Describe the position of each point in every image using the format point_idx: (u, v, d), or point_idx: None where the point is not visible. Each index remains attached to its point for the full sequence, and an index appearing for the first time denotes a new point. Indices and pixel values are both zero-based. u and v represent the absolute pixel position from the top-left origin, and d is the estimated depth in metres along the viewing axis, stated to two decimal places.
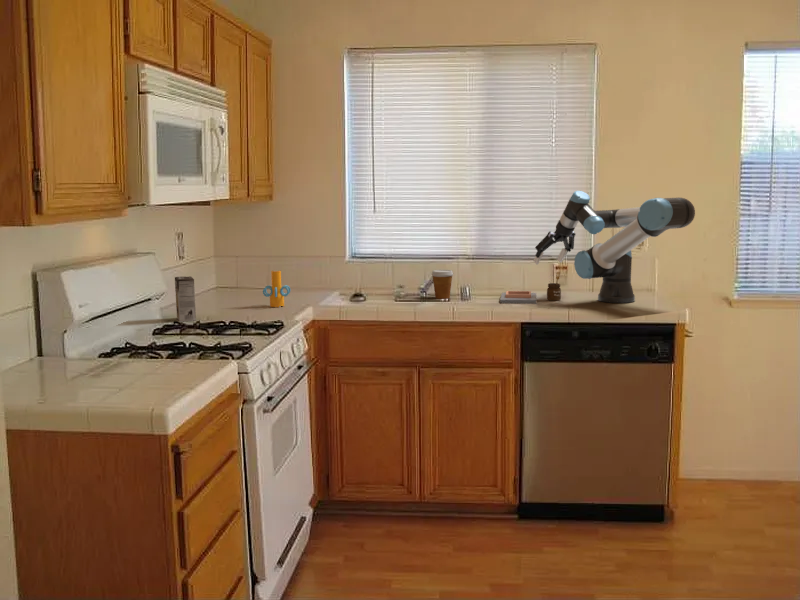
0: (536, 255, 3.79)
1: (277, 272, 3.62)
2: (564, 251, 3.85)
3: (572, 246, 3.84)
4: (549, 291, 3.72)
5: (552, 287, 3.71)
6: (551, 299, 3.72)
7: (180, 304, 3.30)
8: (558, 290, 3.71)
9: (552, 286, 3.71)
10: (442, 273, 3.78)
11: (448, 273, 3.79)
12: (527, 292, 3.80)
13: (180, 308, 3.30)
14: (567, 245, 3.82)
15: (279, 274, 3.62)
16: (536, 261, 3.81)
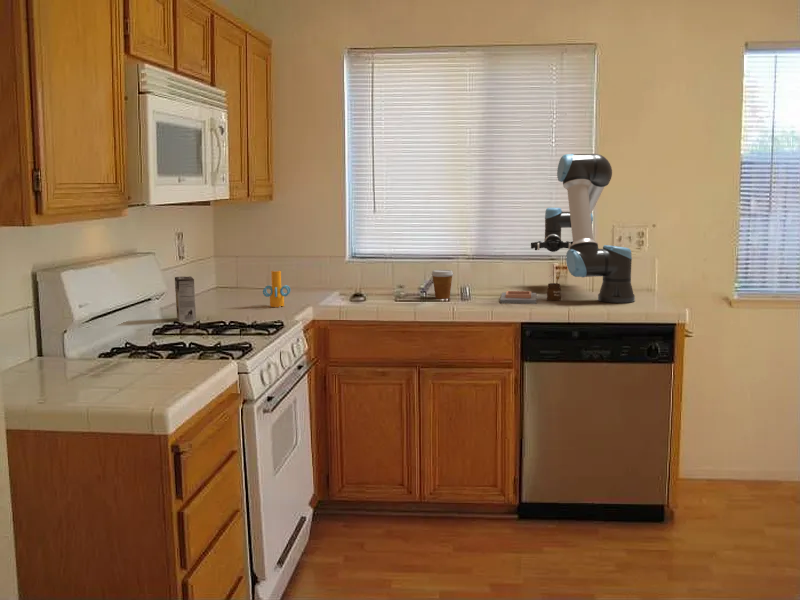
0: (535, 246, 3.86)
1: (277, 272, 3.62)
2: None
3: None
4: (549, 291, 3.72)
5: (552, 287, 3.71)
6: (551, 299, 3.72)
7: (180, 304, 3.30)
8: (558, 290, 3.71)
9: (552, 286, 3.71)
10: (442, 273, 3.78)
11: (448, 273, 3.79)
12: (527, 292, 3.80)
13: (180, 308, 3.30)
14: (566, 242, 3.89)
15: (279, 274, 3.62)
16: (537, 245, 3.83)
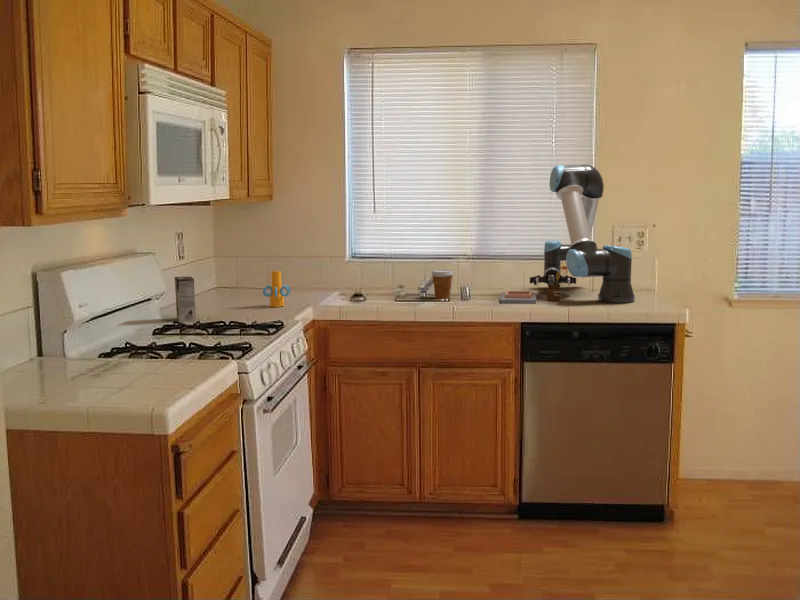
0: (533, 281, 3.83)
1: (277, 272, 3.62)
2: None
3: (573, 277, 3.85)
4: (549, 291, 3.72)
5: (552, 287, 3.71)
6: (551, 299, 3.72)
7: (180, 304, 3.30)
8: (558, 290, 3.71)
9: (552, 286, 3.71)
10: (442, 273, 3.78)
11: (448, 273, 3.79)
12: (527, 292, 3.80)
13: (180, 308, 3.30)
14: (565, 277, 3.87)
15: (279, 274, 3.62)
16: (536, 281, 3.80)
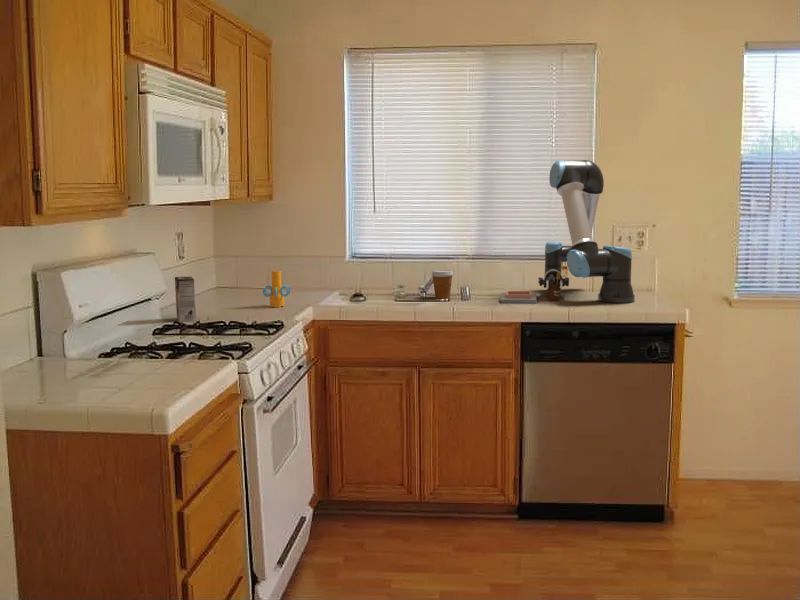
0: (543, 284, 3.73)
1: (277, 272, 3.62)
2: None
3: (567, 280, 3.76)
4: (549, 291, 3.72)
5: (552, 287, 3.71)
6: (551, 299, 3.72)
7: (180, 304, 3.30)
8: (558, 290, 3.71)
9: (552, 286, 3.71)
10: (442, 273, 3.78)
11: (448, 273, 3.79)
12: (527, 292, 3.80)
13: (180, 308, 3.30)
14: (560, 279, 3.78)
15: (279, 274, 3.62)
16: (546, 283, 3.69)
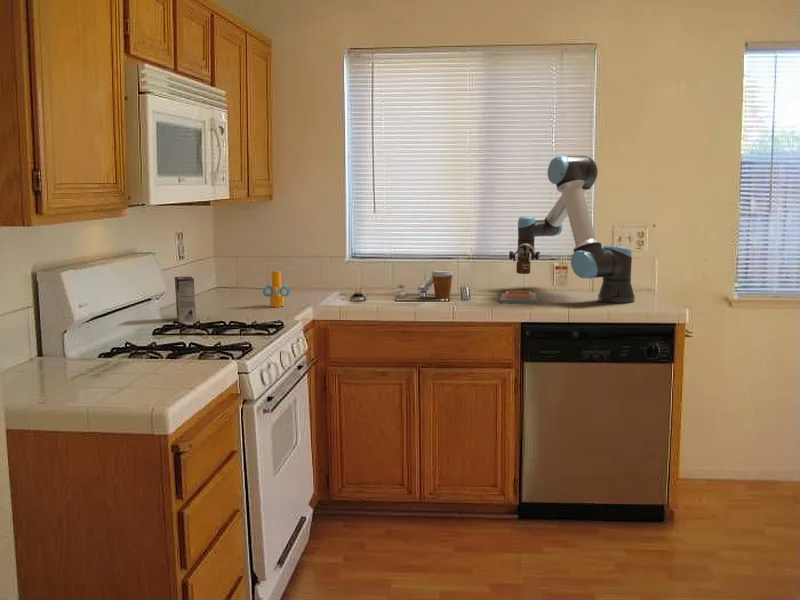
0: (513, 257, 3.74)
1: (277, 272, 3.62)
2: None
3: None
4: (518, 264, 3.73)
5: (521, 260, 3.73)
6: (520, 272, 3.73)
7: (180, 304, 3.30)
8: (527, 263, 3.72)
9: (521, 259, 3.72)
10: (442, 273, 3.78)
11: (448, 273, 3.79)
12: (527, 292, 3.80)
13: (180, 308, 3.30)
14: (530, 253, 3.79)
15: (279, 274, 3.62)
16: (515, 256, 3.71)
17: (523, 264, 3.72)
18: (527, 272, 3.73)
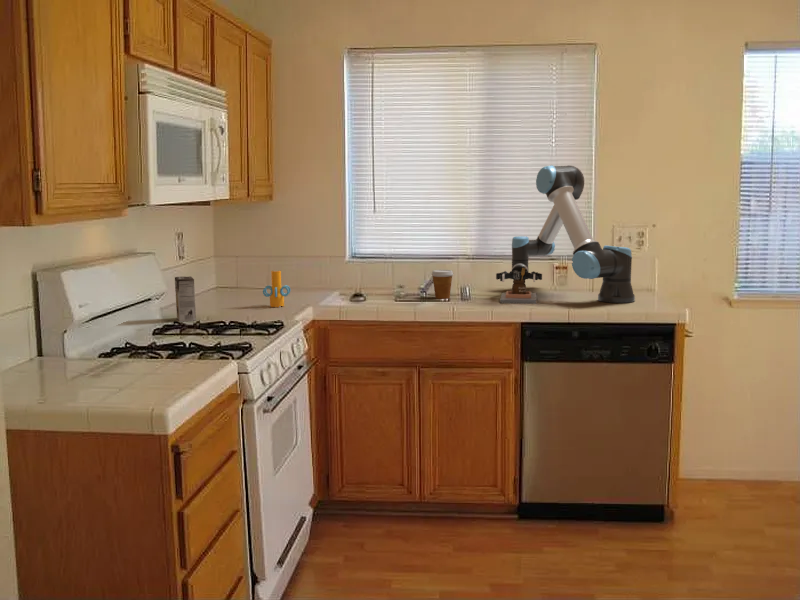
0: (500, 277, 3.77)
1: (277, 272, 3.62)
2: None
3: (539, 273, 3.79)
4: (514, 287, 3.74)
5: (517, 283, 3.73)
6: None
7: (180, 304, 3.30)
8: (523, 286, 3.73)
9: (517, 282, 3.73)
10: (442, 273, 3.78)
11: (448, 273, 3.79)
12: (527, 292, 3.80)
13: (180, 308, 3.30)
14: (531, 273, 3.80)
15: (279, 274, 3.62)
16: (502, 277, 3.74)
17: (519, 287, 3.73)
18: None
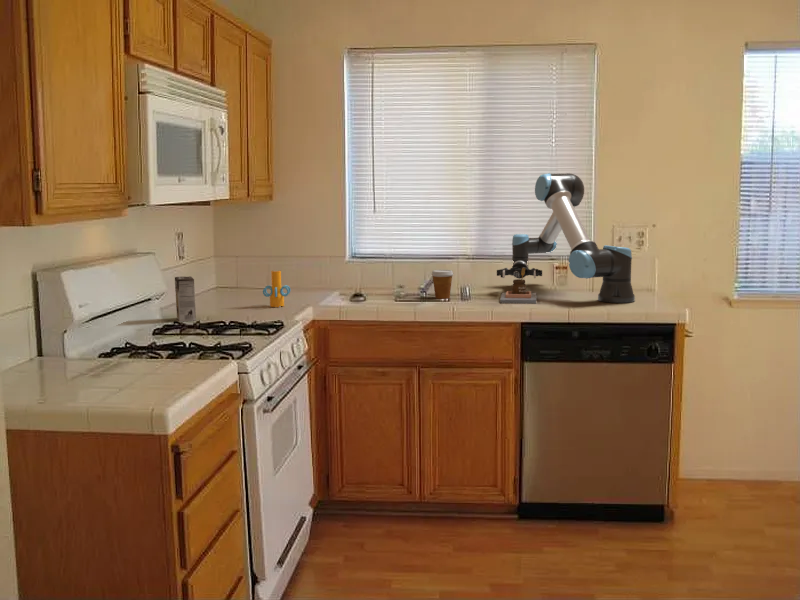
0: (500, 273, 3.89)
1: (277, 272, 3.62)
2: None
3: (539, 270, 3.91)
4: (514, 287, 3.74)
5: (517, 283, 3.73)
6: None
7: (180, 304, 3.30)
8: (523, 286, 3.73)
9: (517, 282, 3.73)
10: (442, 273, 3.78)
11: (448, 273, 3.79)
12: (527, 292, 3.80)
13: (180, 308, 3.30)
14: (531, 269, 3.93)
15: (279, 274, 3.62)
16: (502, 273, 3.86)
17: (519, 287, 3.73)
18: None
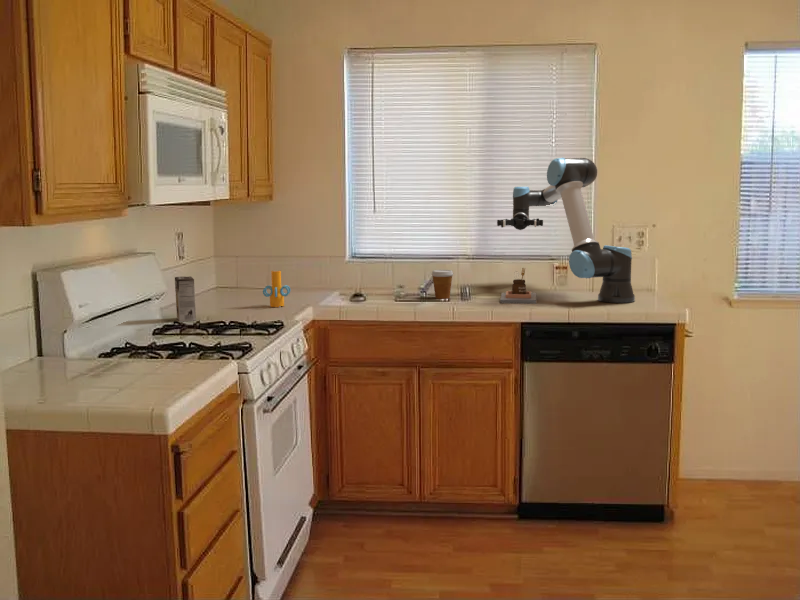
0: (500, 223, 3.87)
1: (277, 272, 3.62)
2: None
3: (540, 220, 3.88)
4: (514, 287, 3.74)
5: (517, 283, 3.73)
6: None
7: (180, 304, 3.30)
8: (523, 286, 3.73)
9: (517, 282, 3.73)
10: (442, 273, 3.78)
11: (448, 273, 3.79)
12: (527, 292, 3.80)
13: (180, 308, 3.30)
14: (532, 219, 3.90)
15: (279, 274, 3.62)
16: (503, 222, 3.83)
17: (519, 287, 3.73)
18: None
